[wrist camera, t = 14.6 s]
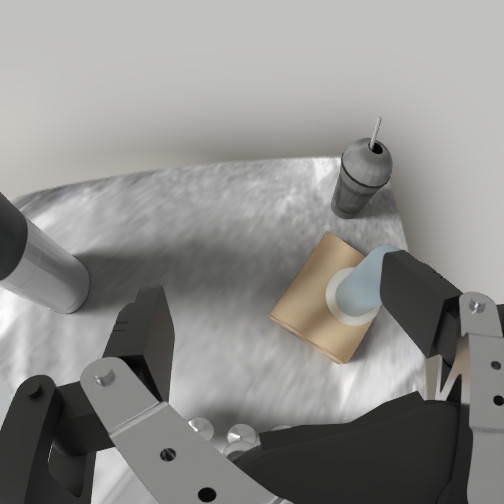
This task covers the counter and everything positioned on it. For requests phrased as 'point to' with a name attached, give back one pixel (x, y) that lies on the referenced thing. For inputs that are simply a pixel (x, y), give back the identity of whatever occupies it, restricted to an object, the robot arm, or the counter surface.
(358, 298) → the pale blue domed cylinder
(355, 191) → the beverage cup
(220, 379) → the counter surface
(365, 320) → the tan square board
